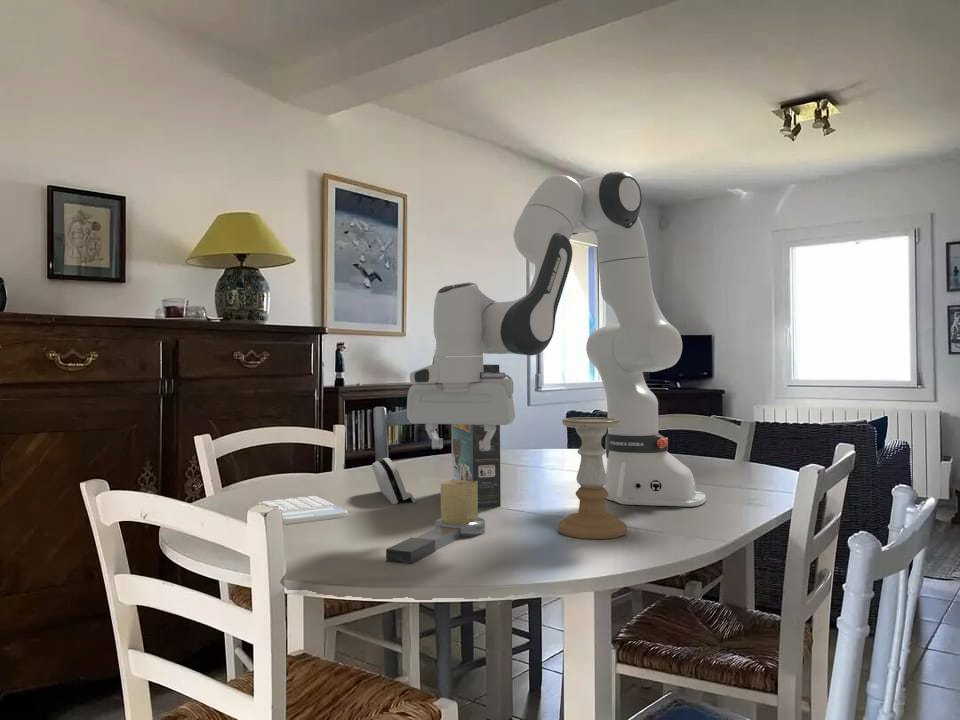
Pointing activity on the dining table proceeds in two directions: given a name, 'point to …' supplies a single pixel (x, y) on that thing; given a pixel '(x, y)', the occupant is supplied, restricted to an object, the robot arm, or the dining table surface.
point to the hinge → (390, 481)
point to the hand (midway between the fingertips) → (460, 449)
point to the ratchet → (432, 541)
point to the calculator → (306, 509)
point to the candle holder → (592, 484)
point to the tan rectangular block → (459, 502)
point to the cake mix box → (478, 457)
